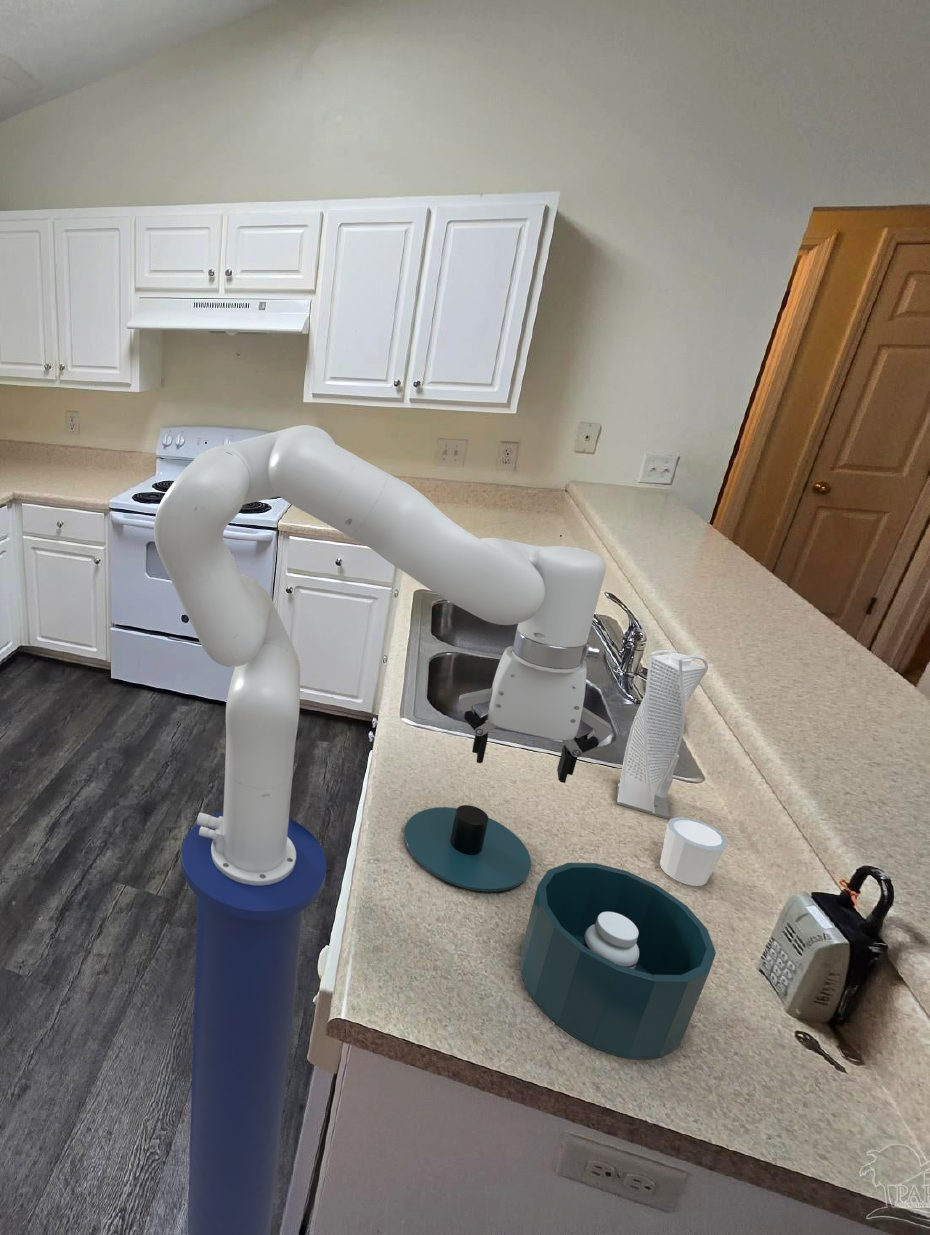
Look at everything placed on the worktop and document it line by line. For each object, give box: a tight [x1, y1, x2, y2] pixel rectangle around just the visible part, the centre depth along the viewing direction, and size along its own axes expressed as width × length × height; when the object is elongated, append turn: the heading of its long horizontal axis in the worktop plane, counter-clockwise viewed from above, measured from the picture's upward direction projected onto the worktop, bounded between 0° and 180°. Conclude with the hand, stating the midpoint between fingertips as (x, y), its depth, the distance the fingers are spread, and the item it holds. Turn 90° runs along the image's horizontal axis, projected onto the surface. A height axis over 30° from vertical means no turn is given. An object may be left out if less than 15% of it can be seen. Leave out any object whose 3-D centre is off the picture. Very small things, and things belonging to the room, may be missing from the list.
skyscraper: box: [616, 648, 709, 820], centre depth 109 cm, size 8×8×28 cm
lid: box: [403, 804, 532, 893], centre depth 102 cm, size 17×17×7 cm
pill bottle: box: [582, 912, 639, 970], centre depth 79 cm, size 5×5×10 cm
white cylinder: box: [659, 816, 729, 887], centre depth 98 cm, size 7×7×7 cm
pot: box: [519, 862, 717, 1061], centre depth 79 cm, size 17×17×12 cm
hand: (519, 767), depth 90 cm, fingers open, 9 cm apart
